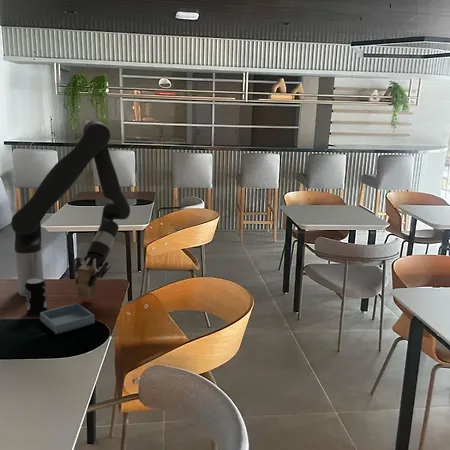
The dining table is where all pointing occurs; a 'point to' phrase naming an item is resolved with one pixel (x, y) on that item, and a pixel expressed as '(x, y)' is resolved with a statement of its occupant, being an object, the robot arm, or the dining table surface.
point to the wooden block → (85, 281)
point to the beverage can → (35, 296)
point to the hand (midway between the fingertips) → (83, 285)
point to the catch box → (67, 318)
